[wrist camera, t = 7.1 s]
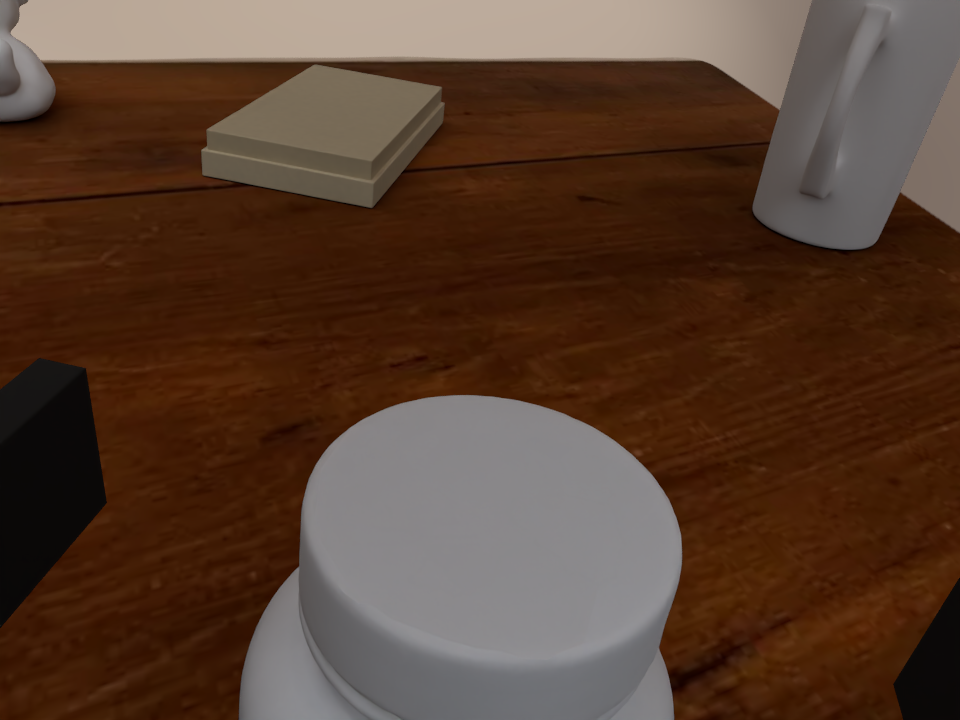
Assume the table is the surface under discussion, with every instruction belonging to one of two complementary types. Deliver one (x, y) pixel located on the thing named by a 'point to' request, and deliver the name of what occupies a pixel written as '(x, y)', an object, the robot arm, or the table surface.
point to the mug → (855, 117)
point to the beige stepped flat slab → (326, 135)
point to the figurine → (20, 72)
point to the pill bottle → (472, 575)
